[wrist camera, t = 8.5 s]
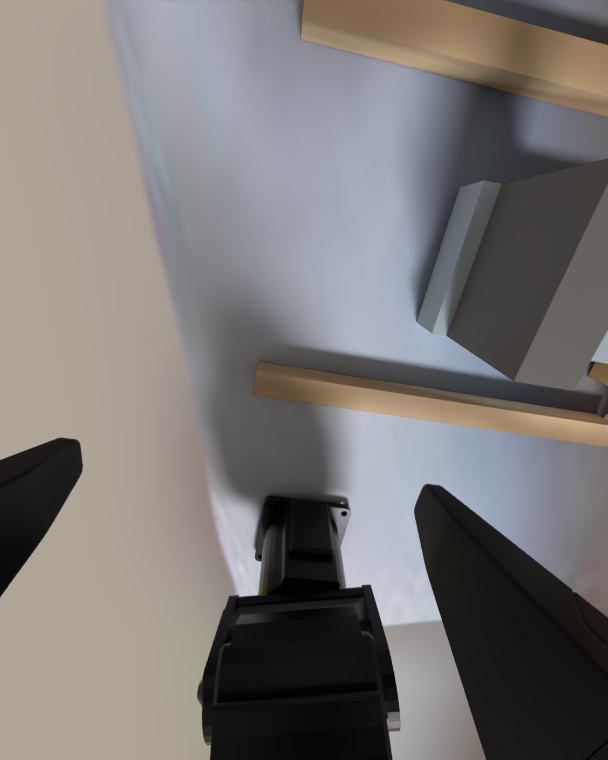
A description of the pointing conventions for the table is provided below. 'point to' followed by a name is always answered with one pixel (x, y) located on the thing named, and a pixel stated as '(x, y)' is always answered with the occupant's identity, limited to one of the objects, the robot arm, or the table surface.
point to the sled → (527, 276)
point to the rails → (480, 66)
